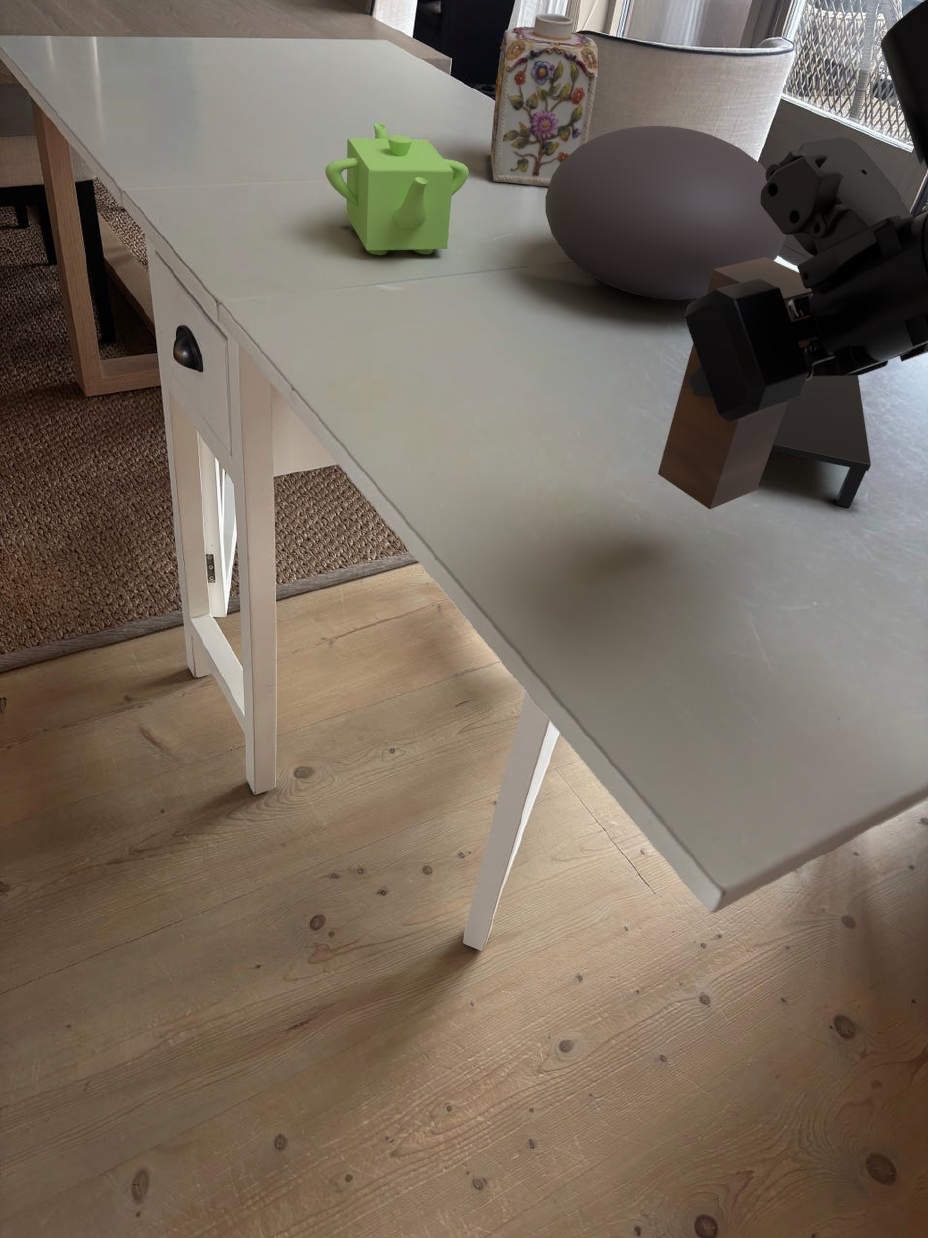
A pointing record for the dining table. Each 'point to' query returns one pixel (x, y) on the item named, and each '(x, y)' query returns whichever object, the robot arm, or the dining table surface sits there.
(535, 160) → the decorative jar
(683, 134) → the smooth stone
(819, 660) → the dining table surface
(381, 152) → the teapot
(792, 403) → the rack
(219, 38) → the dining table surface
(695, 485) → the walnut block
